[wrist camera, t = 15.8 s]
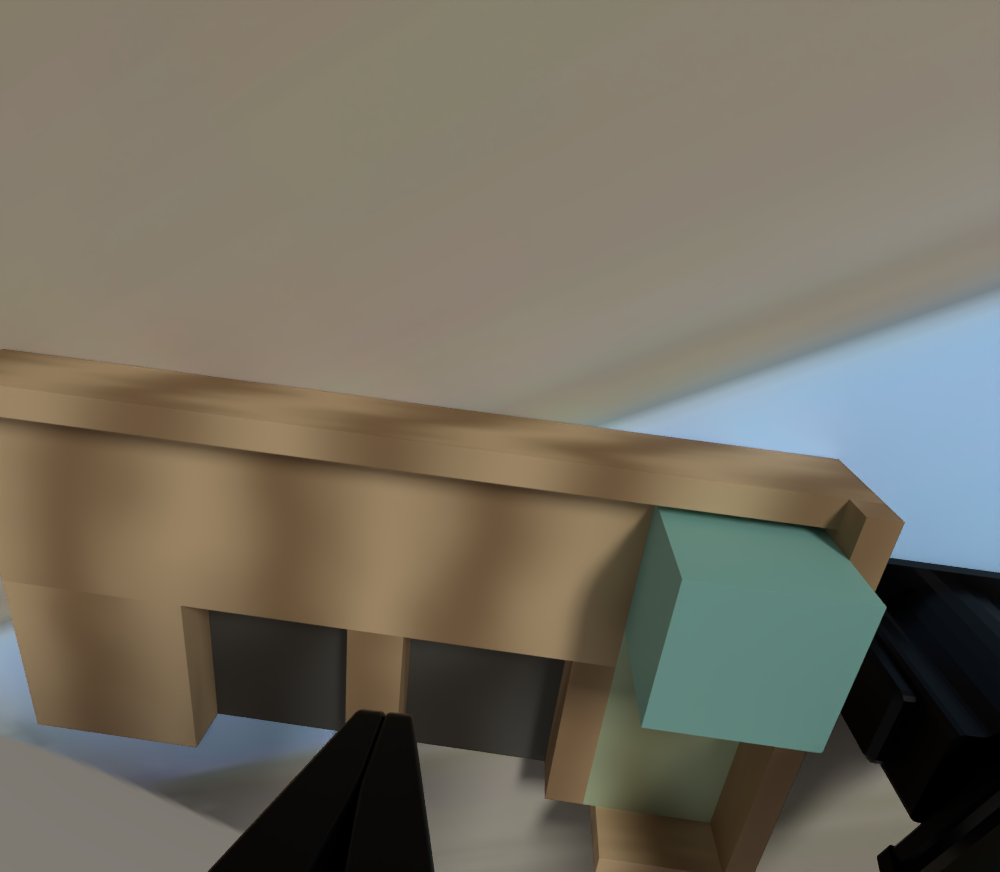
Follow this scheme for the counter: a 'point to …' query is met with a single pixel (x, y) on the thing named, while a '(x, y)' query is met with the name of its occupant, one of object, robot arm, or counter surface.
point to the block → (746, 629)
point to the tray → (384, 580)
